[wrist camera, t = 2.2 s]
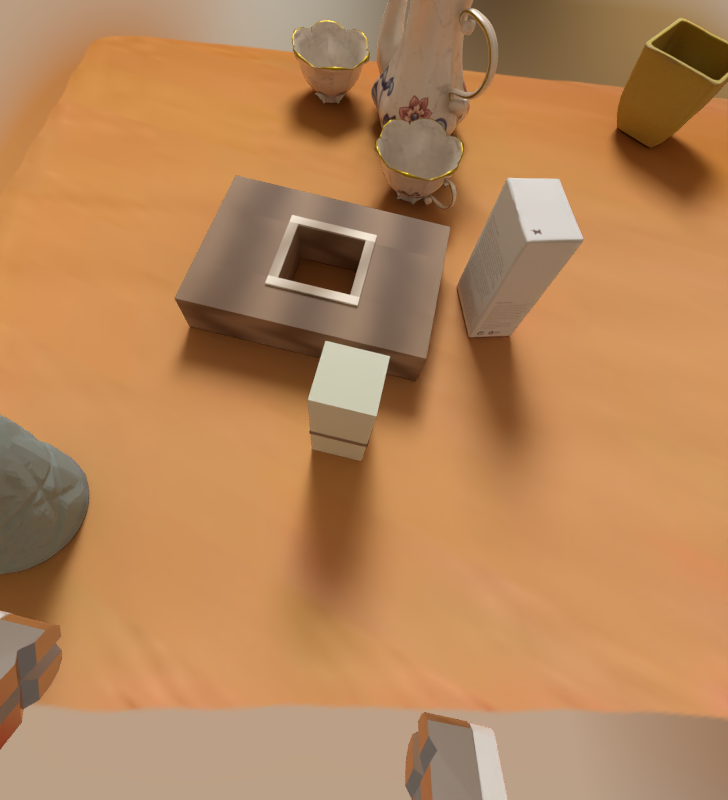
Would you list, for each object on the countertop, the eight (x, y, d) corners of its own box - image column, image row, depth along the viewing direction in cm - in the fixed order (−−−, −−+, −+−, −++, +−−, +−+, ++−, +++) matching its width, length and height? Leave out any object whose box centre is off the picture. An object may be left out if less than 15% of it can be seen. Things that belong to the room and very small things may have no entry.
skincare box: (511, 337, 39) (587, 242, 28) (467, 339, 38) (526, 242, 27) (497, 283, 41) (561, 176, 30) (455, 284, 40) (504, 175, 29)
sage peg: (372, 414, 34) (390, 355, 25) (361, 462, 33) (377, 417, 24) (324, 402, 34) (324, 339, 25) (311, 449, 33) (306, 400, 24)
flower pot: (594, 126, 52) (645, 41, 44) (628, 99, 55) (682, 14, 47) (654, 165, 50) (719, 84, 42) (686, 135, 53) (753, 54, 45)
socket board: (439, 257, 42) (451, 225, 38) (415, 381, 36) (426, 357, 32) (243, 210, 42) (235, 173, 38) (189, 326, 36) (173, 296, 32)
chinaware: (272, 98, 51) (233, -101, 36) (381, 45, 55) (389, -157, 39) (414, 251, 44) (444, 87, 28) (530, 180, 47) (614, -3, 31)
